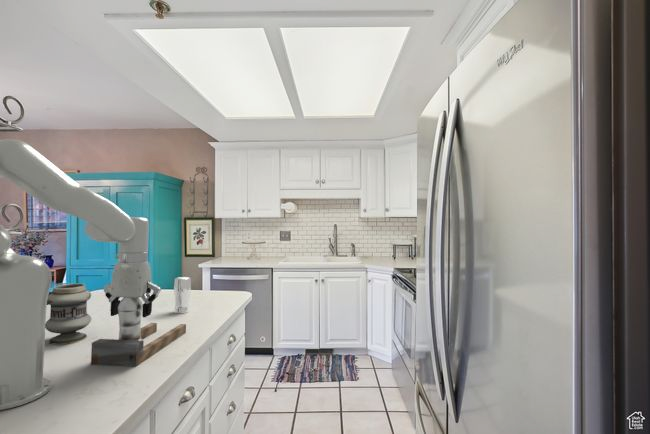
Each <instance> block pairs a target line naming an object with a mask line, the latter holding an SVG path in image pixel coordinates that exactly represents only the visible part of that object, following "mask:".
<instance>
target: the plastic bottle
mask: <svg viewBox="0 0 650 434" xmlns="http://www.w3.org/2000/svg"><path fill="white" fill-rule="evenodd" d="M143 304H144V303H143V300H141V298H140V297H139V298H128V297H122V299H121V300H120V303H119V305H118V314H117V315H118V322H119V323H118V324H119V332H118V340H139V341H143V339H141V330H140V328H141V321H142V320H141V319H142V310H143Z"/></svg>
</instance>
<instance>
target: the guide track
mask: <svg viewBox="0 0 650 434" xmlns="http://www.w3.org/2000/svg"><path fill="white" fill-rule="evenodd" d="M157 327H158V323H157V322H150V323H148V324H146V325H145V326H142V327H140V330H141V339H142V341H139V340H119V339H115V338H114V339H111V338H99V339H97V340H95V341H94V340H93V342H91V354H90V355H91V356H90V357H91V358H90V365H96V366H98V365H99V366H118V367H119V366H120V367H137V366H139V365H141V364H142V363H143V362H145V361H146V360H148V359H149V358H151V357H152V356H154V355H155V354H156V353H159V352H160V351H161V350H163V349H164V348H166V346H168V345H170V344H172V343H173V342H174V341H176V340H177V339H178V338H180V337H181V336H183V335H185V334H186V332H187V324H186V323H180V324H179V325H176V326H175V327H173V328H172V329H169V331H167V332H165V333H164V334H162V335H160V336H159V337H157V338H155V339H154V340H152V341H150V342H149V343H148V344H145V345H144V342H145V340H144V339H145V338H148V337H150V336H151V335H152V334H154V333H157Z"/></svg>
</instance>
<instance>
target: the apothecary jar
mask: <svg viewBox="0 0 650 434" xmlns="http://www.w3.org/2000/svg"><path fill="white" fill-rule="evenodd" d="M91 297H92V293H91V292H90V291H89V290H87V288H86V284H85V283H80V282H79V283H66V284H65V283H64V284H60V285H55V286H54V287H53V289H52V292H51V293H49V295H48V299H47V305H49V306H50V316H49V319H48V320H46V324H45V330H47V331H48V332H50V333H54V334H57V335H55V336H53V337H51V338H50V339H49V340H48V343H49V344H50V345H57V346H58V345H68V344H73V343H77V342H80V341H83V340H84V339H86V338H87V333H83V332H80V330H82V329H84V328H86V327H87V326H89V324H90V323H91V322H92V317H91V315H90V314H89V313H88V312H87V311H88V309H87V308H88V307H87V303H88V302H87V301H89V300H90V299H91Z"/></svg>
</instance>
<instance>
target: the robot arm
mask: <svg viewBox="0 0 650 434" xmlns="http://www.w3.org/2000/svg"><path fill="white" fill-rule="evenodd" d="M0 179H6V180H7V181H9V182H10V183H12V184H13V185H14V186H16V187H18V188H19V189H21V190H22V191H23V192H25V193H26V194H28V195H29V196H31V197H32V198H34V199H35V200H37V201H38V202H40V203H41V204H42V205H44V206H45V207H47V208H49V209H51V210H54V211H56V212H60V213H62V214H67V215H70V216H73V217H76V218H79V219H80V220H82V221H84V222H86V223H85V226H84V232H85V234H86V236H88V237H89V238H90V240H93V241H95V242H99V243H101V242H102V243H115V244H118V253H115V257H114V258H116V259H118V262H115V264H114V267H113V269H112V270H113V271H112V274H111V282H110V283H108V284H106V285H104V286H103V287H102V289H103V292H104V294H105V297H106V298H107V300H108V302H109V303H110V309H109V311H110V317H114V316H116V315H118V305H119V303H120V301H121V300H120V298H124V297H128V298H139V299H142V302H144V303H142V304H143V308H142V314H141V318H147V317H149V316H151V313H152V312H153V311H152V309H153V307H152V306H153V302H154V301H155V300H156V299H157V298H158V297H159V294H160V292H161V290H162V288H161V287H160V286H159V285H157V284H155V283H153V282H152V270H151V269H152V268H151V266H150V265H151V264H150V262H149V261H148V259H149V258H148V255H149V235H150V234H149V232H150V222H149V219H148V218H146V217H143V216H142V217H140V216H138V217H137V216H130V215H128V214H127V213H126V212H125V211H123V210H122V209H121V207H119V206H118V205H116V204H115V203H113V202H112V201H110V200H109V199H107V198H105V197H104V196H102V195H100V194H99V193H97V192H94V191H93V190H91V189H89V188H88V187H86V186H84V185H82V184H80V183H79V182H77V181H75V180H74V179H73V178H71V176H69V175H67V174H66V173H65V172H64V171H62V170H61V169H60V168H59V167H58V166H56V165H55V164H54V163H52V162H51V161H50V160H49V159H48V158H46V157H45V156H44V155H43V154H41V153H40V152H39V151H37V150H36V149H35V148H34V147H33V146H31V145H30V144H28V143H27V142H25V141H23V140H21V139H14V138H4V139H0ZM11 246H12V238H11V235H10V232H9V231H8V230H7V229H6V228H5V227H4V226H3V224H1V223H0V411H3V410H9V409H12V408H15V407H16V408H17V407H19V406H22V405H26V404H28V403H31V402H34V401H35V400H38V399H40V398H41V397H43V396H44V395H46V394H47V393H48V392H49V391H50V390H51V389H52V381H51V380H50V379H49V378H46V377H45V378H44V363H45V341H46V340H45V339H46V328H45V324H46V322H47V320H46V318H47V305H48V303H47V299H48V296H49V295H50V290H51V286H52V281H53V280H52V279H53V277H52V272H51V268H50V267H49V265H48V264H47V263H46V262H45V261H44V260H41V259H40V258H37V257H34V256H32V255H26V254H18V253H17V252H15V251H14V250H13V249H12V248H11ZM151 292H152V294H151Z"/></svg>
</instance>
